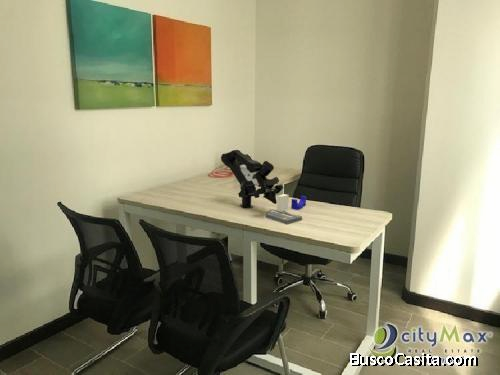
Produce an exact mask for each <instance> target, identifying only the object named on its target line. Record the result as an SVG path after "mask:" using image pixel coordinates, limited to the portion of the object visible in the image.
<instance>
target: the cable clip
mask: <svg viewBox="0 0 500 375" xmlns="http://www.w3.org/2000/svg"><path fill="white" fill-rule="evenodd" d="M305 206H307V196H305V195H301V196H300V199H299V201H298V199H296V198H292V199H291V208H290V209H291V210H295V211H299V210H301V209H304V207H305Z"/></svg>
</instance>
